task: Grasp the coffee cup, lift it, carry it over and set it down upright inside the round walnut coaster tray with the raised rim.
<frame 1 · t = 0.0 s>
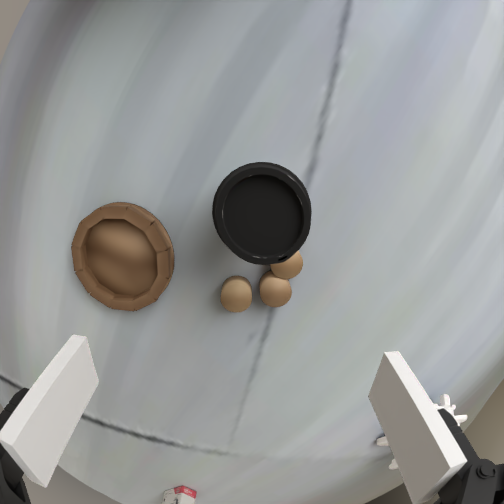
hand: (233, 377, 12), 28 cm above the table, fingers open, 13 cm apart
bead c: (283, 256, 40), on the table
bead a: (236, 288, 41), on the table
white piece: (410, 419, 53), on the table
bead b: (274, 283, 41), on the table
coffee cup: (257, 193, 38), on the table
round tray: (123, 255, 40), on the table
ink box: (179, 490, 60), on the table
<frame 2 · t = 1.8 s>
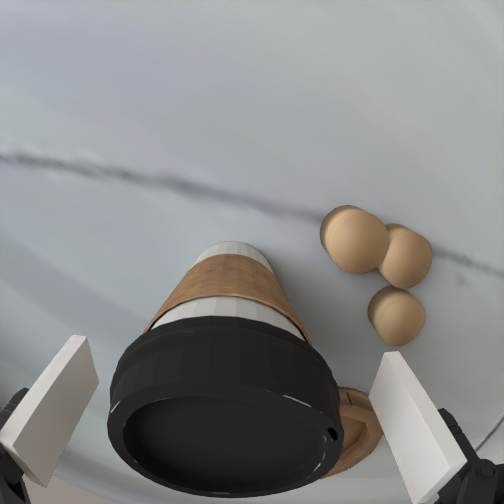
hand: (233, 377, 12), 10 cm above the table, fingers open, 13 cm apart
bead c: (346, 232, 21), on the table
bead a: (388, 306, 23), on the table
bead b: (391, 248, 22), on the table
coffee cup: (231, 279, 22), on the table
round tray: (311, 434, 28), on the table
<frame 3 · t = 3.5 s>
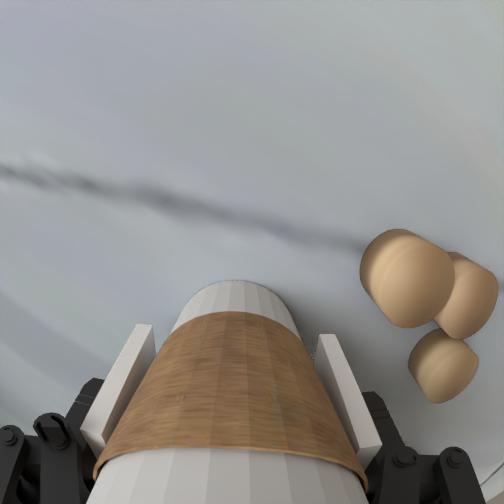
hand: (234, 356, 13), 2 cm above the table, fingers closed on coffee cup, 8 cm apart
bead c: (393, 265, 15), on the table
bead a: (432, 352, 17), on the table
bead b: (444, 283, 15), on the table
coffee cup: (236, 329, 16), on the table, touching gripper
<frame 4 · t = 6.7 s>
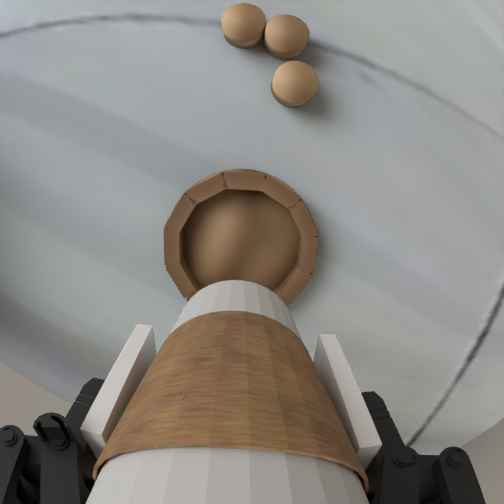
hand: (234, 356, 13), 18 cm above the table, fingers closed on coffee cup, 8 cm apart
bead c: (243, 31, 24), on the table
bead a: (291, 87, 26), on the table
bead b: (283, 42, 24), on the table
coffee cup: (236, 328, 16), point 16 cm above the table, touching gripper
round tray: (240, 244, 31), on the table
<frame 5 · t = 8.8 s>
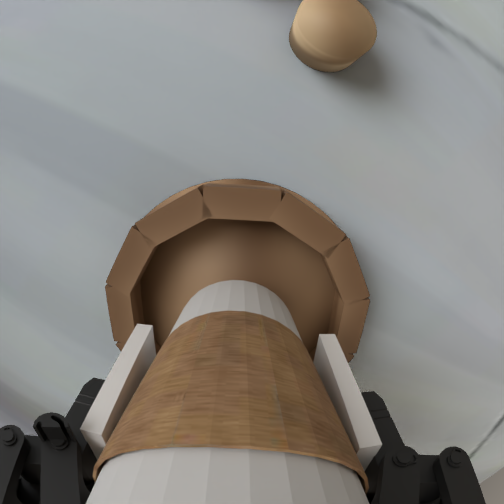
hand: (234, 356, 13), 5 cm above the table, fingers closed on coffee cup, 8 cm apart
bead a: (324, 41, 14), on the table
coffee cup: (236, 328, 16), point 3 cm above the table, touching gripper
round tray: (236, 305, 18), on the table
when the fingers open (4 cm above the table, at t = 9.9 s): coffee cup drops 1 cm, resting on round tray.
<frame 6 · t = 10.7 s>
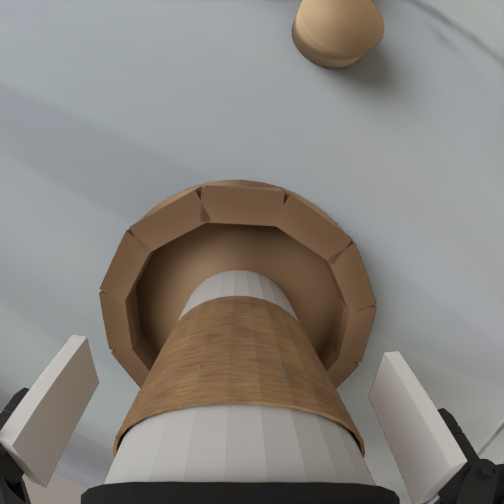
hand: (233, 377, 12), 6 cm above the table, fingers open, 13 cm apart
bead a: (328, 36, 13), on the table
coffee cup: (238, 316, 17), resting on round tray
round tray: (236, 312, 17), on the table
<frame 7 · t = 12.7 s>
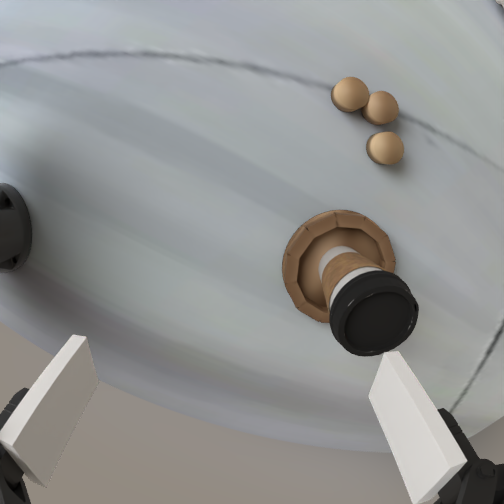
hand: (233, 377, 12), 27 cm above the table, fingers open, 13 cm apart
bead c: (346, 97, 33), on the table
bead a: (380, 148, 35), on the table
bead b: (375, 110, 33), on the table
coffee cup: (339, 266, 39), resting on round tray
round tray: (338, 266, 39), on the table
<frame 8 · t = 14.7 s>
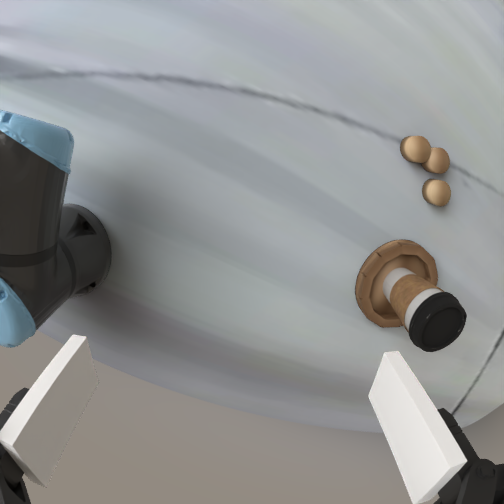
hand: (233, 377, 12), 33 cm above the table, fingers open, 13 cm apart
bead c: (410, 149, 40), on the table
bead a: (431, 190, 42), on the table
bead b: (430, 159, 41), on the table
coffee cup: (397, 283, 46), resting on round tray
round tray: (395, 282, 47), on the table
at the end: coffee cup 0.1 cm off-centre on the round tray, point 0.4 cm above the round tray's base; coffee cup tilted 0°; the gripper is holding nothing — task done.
